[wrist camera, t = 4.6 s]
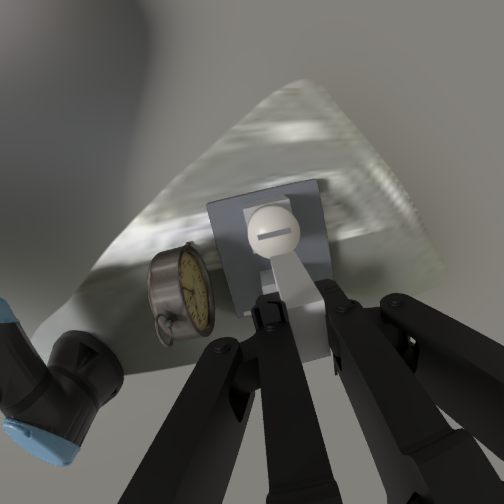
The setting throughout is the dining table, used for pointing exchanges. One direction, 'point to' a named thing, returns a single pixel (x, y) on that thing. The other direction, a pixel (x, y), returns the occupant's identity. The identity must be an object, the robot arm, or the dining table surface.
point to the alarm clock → (180, 294)
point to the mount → (252, 264)
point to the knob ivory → (273, 231)
